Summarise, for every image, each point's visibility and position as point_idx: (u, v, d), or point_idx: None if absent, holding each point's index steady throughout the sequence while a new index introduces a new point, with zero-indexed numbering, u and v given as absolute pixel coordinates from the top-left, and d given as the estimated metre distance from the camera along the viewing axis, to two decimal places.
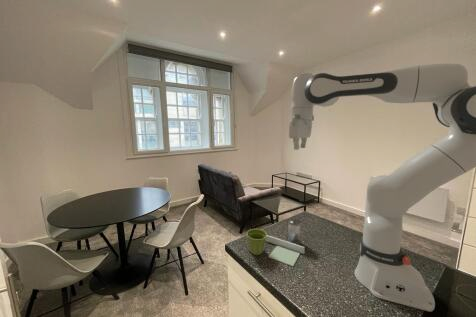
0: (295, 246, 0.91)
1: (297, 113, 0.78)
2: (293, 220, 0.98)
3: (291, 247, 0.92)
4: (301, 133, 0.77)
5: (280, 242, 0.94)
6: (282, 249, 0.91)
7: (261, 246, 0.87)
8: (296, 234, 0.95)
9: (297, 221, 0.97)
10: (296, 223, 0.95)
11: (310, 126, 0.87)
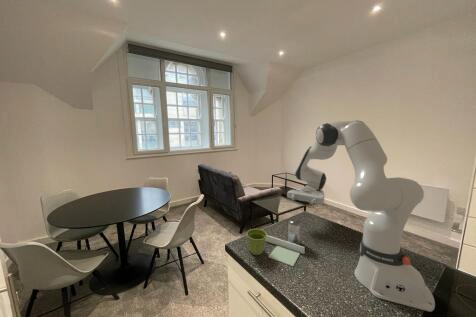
0: (295, 246, 0.91)
1: None
2: (293, 220, 0.98)
3: (291, 247, 0.92)
4: (295, 192, 1.14)
5: (280, 242, 0.94)
6: (282, 249, 0.91)
7: (261, 246, 0.87)
8: (296, 234, 0.95)
9: (297, 221, 0.97)
10: (296, 223, 0.95)
11: (320, 194, 1.09)
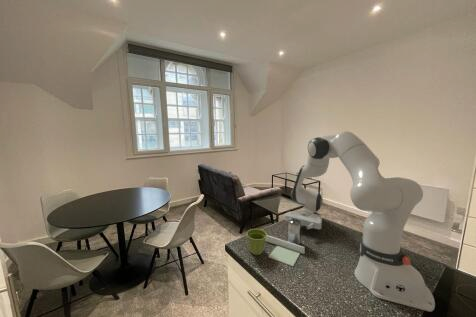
0: (295, 246, 0.91)
1: None
2: (293, 220, 0.98)
3: (291, 247, 0.92)
4: (292, 215, 1.12)
5: (280, 242, 0.94)
6: (282, 249, 0.91)
7: (261, 246, 0.87)
8: (296, 234, 0.95)
9: (297, 221, 0.97)
10: (296, 223, 0.95)
11: (318, 218, 1.07)
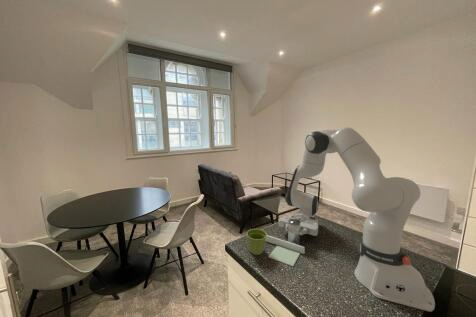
0: (295, 246, 0.91)
1: None
2: (293, 220, 0.98)
3: (291, 247, 0.92)
4: (287, 220, 1.05)
5: (280, 242, 0.94)
6: (282, 249, 0.91)
7: (261, 246, 0.87)
8: (296, 234, 0.95)
9: (297, 221, 0.97)
10: (296, 223, 0.95)
11: (314, 224, 1.00)
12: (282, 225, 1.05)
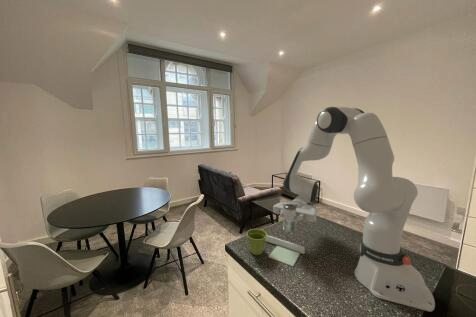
0: (295, 246, 0.91)
1: None
2: (288, 205, 0.89)
3: (291, 247, 0.92)
4: (282, 206, 0.96)
5: (280, 242, 0.94)
6: (282, 249, 0.91)
7: (261, 246, 0.87)
8: (292, 219, 0.86)
9: (293, 206, 0.88)
10: (292, 208, 0.86)
11: (312, 210, 0.91)
12: (277, 212, 0.96)
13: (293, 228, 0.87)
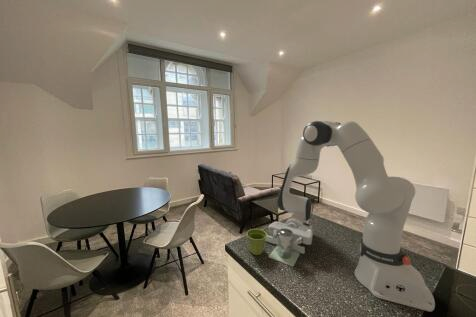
0: (295, 246, 0.91)
1: None
2: (284, 230, 0.87)
3: None
4: (278, 226, 0.94)
5: None
6: None
7: (261, 246, 0.87)
8: (288, 246, 0.84)
9: (289, 231, 0.86)
10: (287, 234, 0.84)
11: (308, 231, 0.89)
12: (272, 232, 0.94)
13: (289, 254, 0.85)
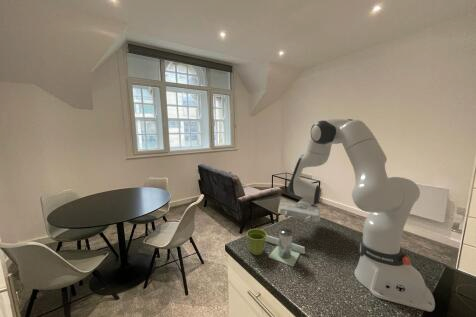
0: (295, 246, 0.91)
1: None
2: (284, 230, 0.87)
3: None
4: (288, 208, 1.04)
5: None
6: None
7: (261, 246, 0.87)
8: (288, 246, 0.84)
9: (289, 231, 0.86)
10: (287, 234, 0.84)
11: (316, 211, 0.99)
12: (283, 213, 1.04)
13: (289, 254, 0.85)
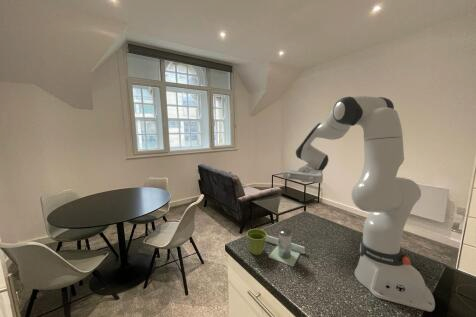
0: (295, 246, 0.91)
1: None
2: (284, 230, 0.87)
3: (291, 247, 0.92)
4: (291, 171, 1.05)
5: None
6: None
7: (261, 246, 0.87)
8: (287, 246, 0.84)
9: (288, 231, 0.86)
10: (286, 233, 0.84)
11: (319, 173, 1.00)
12: (286, 176, 1.04)
13: (288, 254, 0.85)
